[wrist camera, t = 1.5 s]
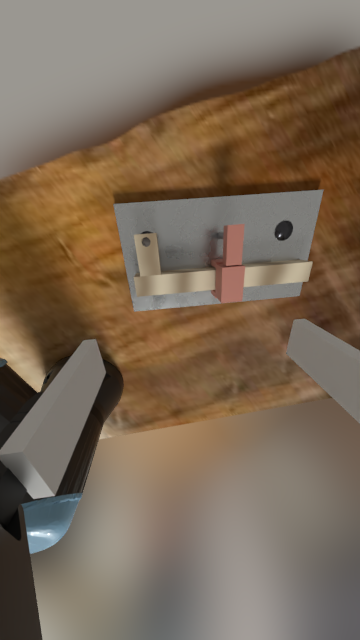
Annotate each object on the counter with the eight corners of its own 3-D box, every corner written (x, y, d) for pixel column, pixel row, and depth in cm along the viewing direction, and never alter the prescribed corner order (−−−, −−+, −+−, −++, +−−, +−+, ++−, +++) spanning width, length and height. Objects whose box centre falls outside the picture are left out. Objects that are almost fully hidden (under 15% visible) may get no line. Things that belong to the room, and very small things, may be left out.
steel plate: (135, 309, 32) (134, 311, 31) (115, 205, 26) (113, 203, 25) (295, 294, 34) (299, 296, 33) (318, 191, 27) (324, 189, 26)
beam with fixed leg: (139, 291, 30) (137, 296, 27) (129, 235, 26) (126, 235, 24) (295, 277, 31) (307, 281, 29) (306, 221, 28) (322, 220, 25)
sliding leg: (210, 292, 31) (221, 305, 25) (211, 227, 26) (223, 225, 21) (228, 290, 31) (242, 303, 25) (231, 226, 27) (248, 223, 21)
